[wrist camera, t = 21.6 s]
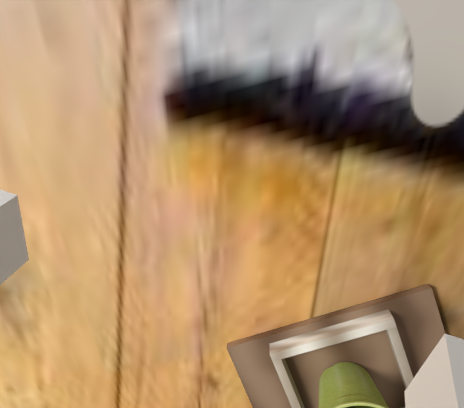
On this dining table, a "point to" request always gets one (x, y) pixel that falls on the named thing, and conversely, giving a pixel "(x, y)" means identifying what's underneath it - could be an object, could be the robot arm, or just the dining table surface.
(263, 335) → the jig plate
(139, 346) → the dining table surface
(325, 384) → the plant pot
